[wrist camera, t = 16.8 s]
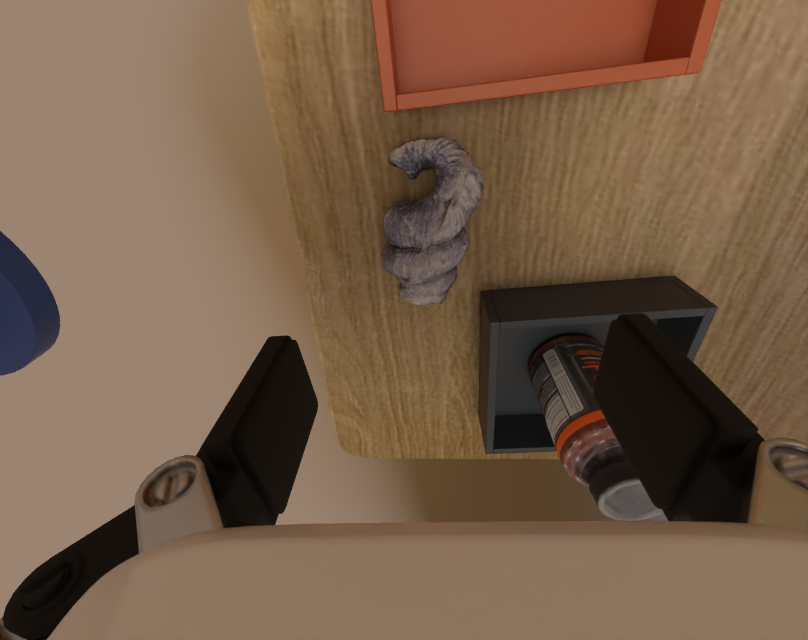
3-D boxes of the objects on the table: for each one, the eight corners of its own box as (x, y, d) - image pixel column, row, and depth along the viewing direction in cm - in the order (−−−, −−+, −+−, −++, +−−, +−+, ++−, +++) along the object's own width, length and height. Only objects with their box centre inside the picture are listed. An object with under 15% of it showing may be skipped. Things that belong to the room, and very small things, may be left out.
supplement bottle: (620, 341, 26) (734, 483, 17) (577, 394, 29) (652, 539, 20) (548, 321, 25) (625, 458, 16) (512, 379, 29) (559, 521, 19)
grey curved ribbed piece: (421, 128, 20) (419, 279, 26) (355, 140, 17) (370, 310, 23) (505, 136, 18) (482, 302, 23) (445, 152, 14) (436, 341, 20)
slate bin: (478, 415, 32) (485, 454, 29) (480, 291, 25) (490, 323, 21) (627, 408, 31) (654, 447, 28) (675, 275, 24) (719, 307, 20)
